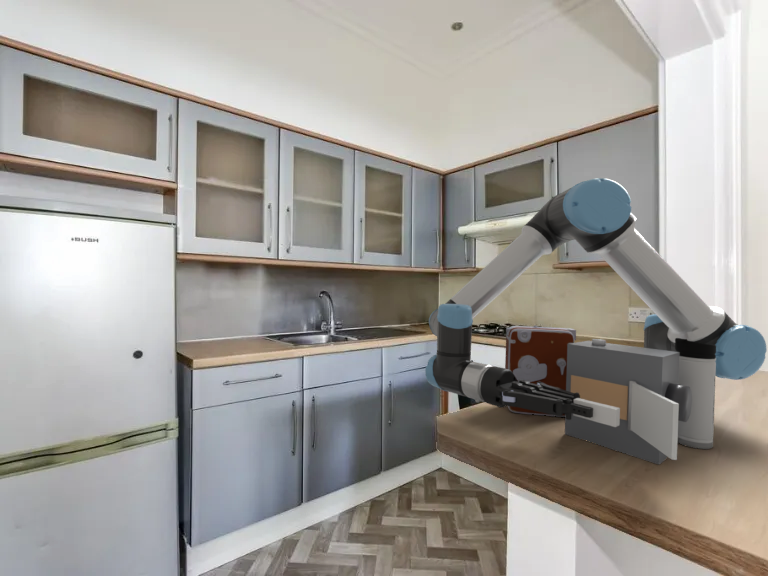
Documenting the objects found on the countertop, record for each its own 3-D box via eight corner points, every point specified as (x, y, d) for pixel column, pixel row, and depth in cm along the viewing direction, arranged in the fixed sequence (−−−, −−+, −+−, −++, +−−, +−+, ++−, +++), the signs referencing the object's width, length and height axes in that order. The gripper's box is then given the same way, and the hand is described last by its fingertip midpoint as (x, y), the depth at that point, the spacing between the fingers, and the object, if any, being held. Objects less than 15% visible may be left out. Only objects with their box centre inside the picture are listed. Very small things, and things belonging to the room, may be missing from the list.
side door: (626, 428, 68) (628, 380, 68) (632, 429, 68) (634, 381, 68) (670, 460, 56) (672, 402, 56) (677, 461, 56) (679, 402, 55)
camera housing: (692, 456, 69) (696, 348, 69) (676, 470, 63) (680, 353, 63) (585, 424, 83) (588, 335, 83) (564, 434, 77) (567, 338, 77)
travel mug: (661, 436, 78) (665, 336, 77) (692, 436, 78) (695, 336, 78) (688, 449, 71) (692, 341, 71) (722, 449, 72) (725, 341, 72)
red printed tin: (600, 423, 85) (603, 331, 84) (506, 414, 88) (509, 326, 88) (587, 409, 94) (589, 326, 93) (502, 402, 97) (505, 323, 97)
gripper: (507, 397, 83) (632, 432, 65) (468, 408, 75) (599, 452, 56) (509, 362, 83) (634, 387, 65) (470, 369, 75) (600, 400, 56)
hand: (617, 417), depth 61 cm, fingers closed
